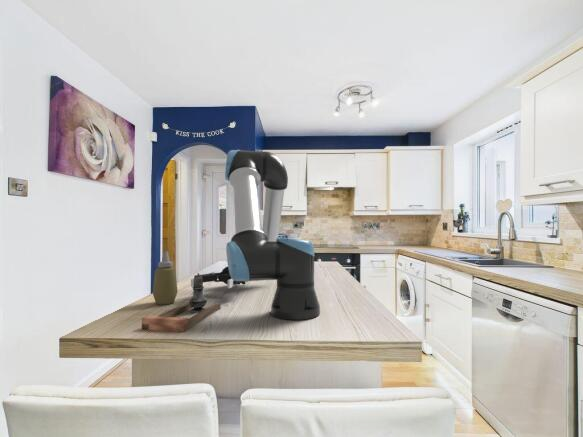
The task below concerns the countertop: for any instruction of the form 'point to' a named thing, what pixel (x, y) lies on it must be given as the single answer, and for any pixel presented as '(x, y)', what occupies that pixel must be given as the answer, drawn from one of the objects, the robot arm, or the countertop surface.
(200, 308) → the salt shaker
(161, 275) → the squeeze bottle
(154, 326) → the track
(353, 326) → the countertop surface
